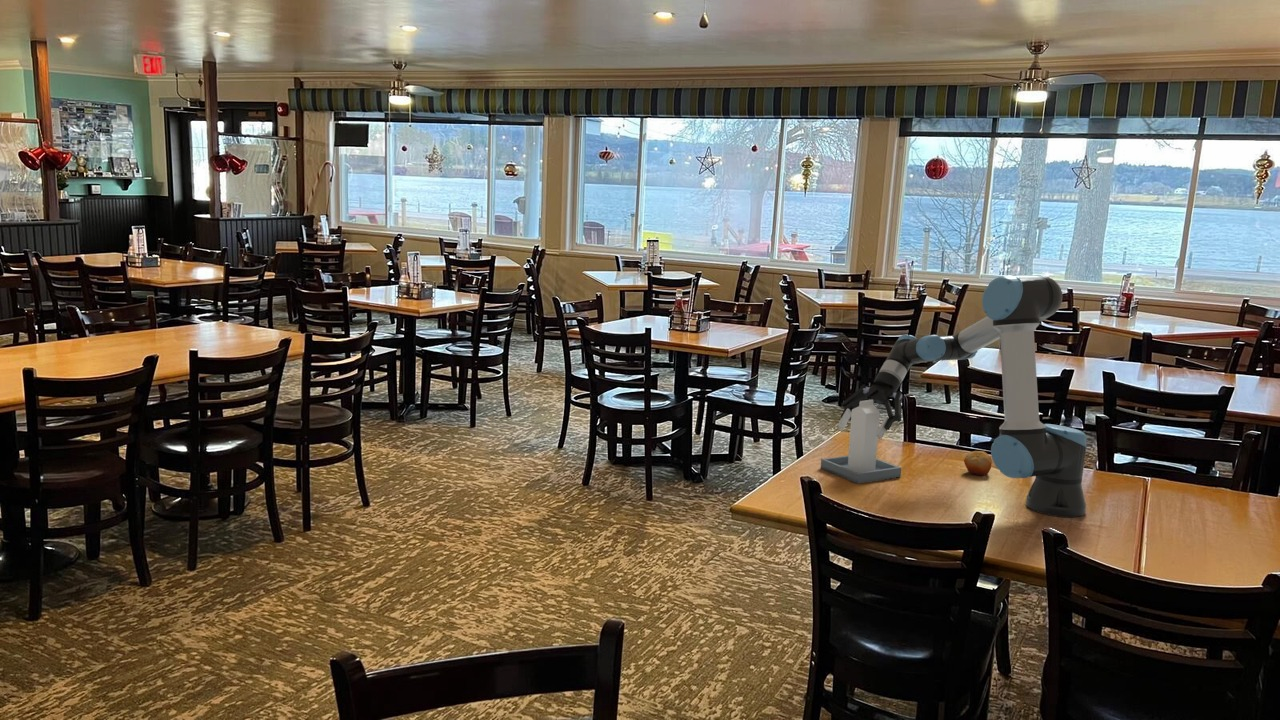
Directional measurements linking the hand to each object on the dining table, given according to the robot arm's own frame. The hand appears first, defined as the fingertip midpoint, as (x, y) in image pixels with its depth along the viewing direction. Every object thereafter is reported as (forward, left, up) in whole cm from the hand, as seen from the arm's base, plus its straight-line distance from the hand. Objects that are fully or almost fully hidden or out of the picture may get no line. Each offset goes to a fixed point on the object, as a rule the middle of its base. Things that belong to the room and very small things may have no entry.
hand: (858, 432), depth 283 cm
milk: (0, -2, -13) cm, 13 cm away
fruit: (-14, -36, -13) cm, 41 cm away
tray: (+1, -2, -13) cm, 13 cm away
